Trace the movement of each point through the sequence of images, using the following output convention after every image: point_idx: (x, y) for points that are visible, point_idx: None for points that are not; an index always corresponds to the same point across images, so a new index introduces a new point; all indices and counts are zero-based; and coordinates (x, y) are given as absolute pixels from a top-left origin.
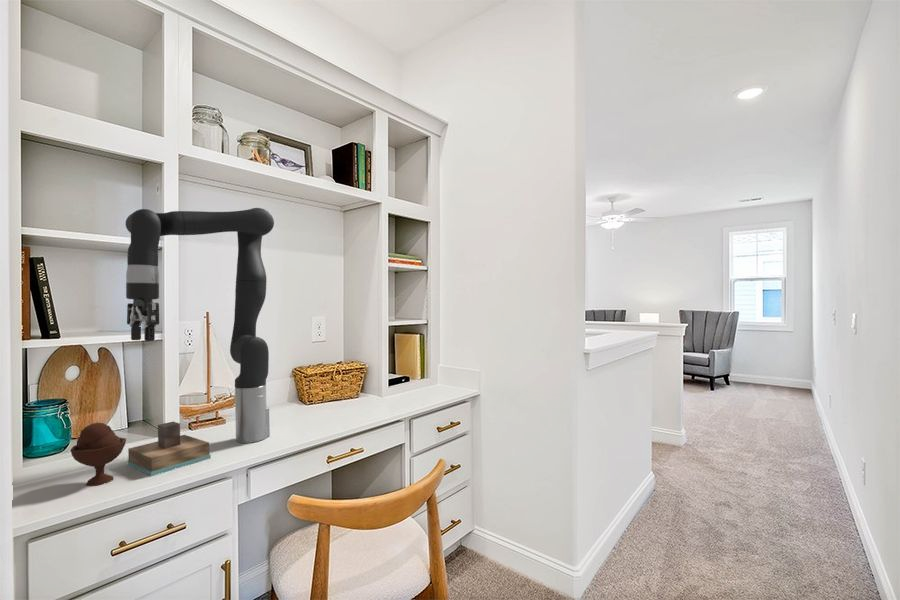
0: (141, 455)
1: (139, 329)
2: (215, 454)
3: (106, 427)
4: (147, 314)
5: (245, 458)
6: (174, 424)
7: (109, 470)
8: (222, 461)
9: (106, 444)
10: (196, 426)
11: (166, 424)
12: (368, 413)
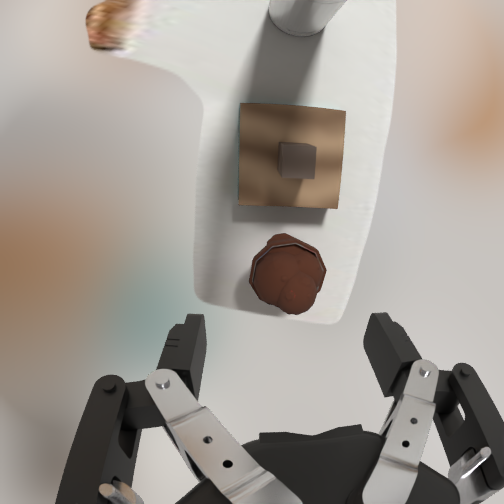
0: (297, 206)
1: (194, 363)
2: (325, 94)
3: (311, 288)
4: (448, 450)
5: (389, 89)
6: (314, 157)
7: (240, 223)
8: (370, 113)
9: (321, 278)
10: (103, 37)
11: (296, 165)
12: None
